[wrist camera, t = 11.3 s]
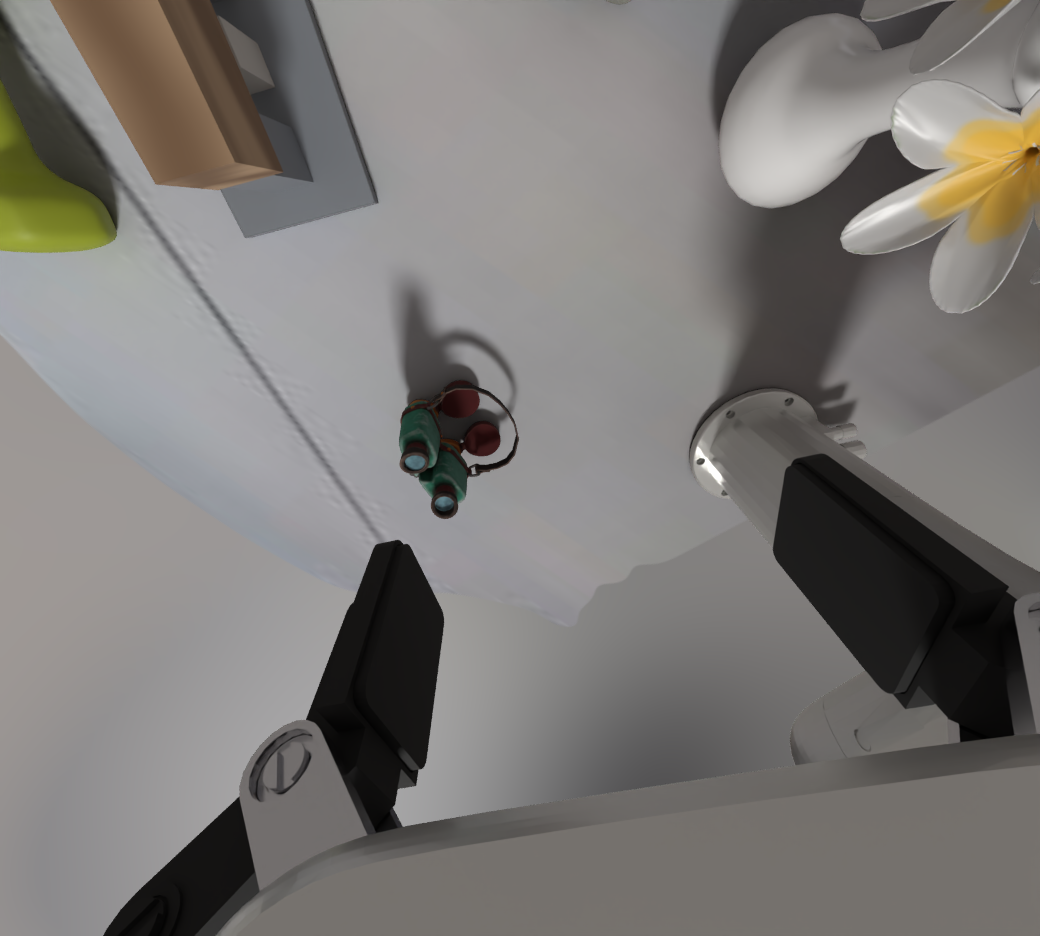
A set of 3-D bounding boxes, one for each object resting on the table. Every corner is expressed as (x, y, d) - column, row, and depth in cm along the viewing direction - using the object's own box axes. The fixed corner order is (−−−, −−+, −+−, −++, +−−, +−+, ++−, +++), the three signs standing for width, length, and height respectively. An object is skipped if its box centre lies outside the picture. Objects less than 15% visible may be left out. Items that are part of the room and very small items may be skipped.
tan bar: (131, -184, 16) (4, -322, 12) (283, 172, 23) (235, 162, 19) (43, -153, 17) (-110, -277, 13) (218, 190, 23) (155, 184, 19)
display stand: (256, -154, 21) (162, -298, 15) (378, 203, 30) (348, 199, 24) (85, -94, 22) (-68, -210, 16) (252, 237, 30) (192, 242, 24)
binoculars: (542, 489, 32) (431, 539, 33) (523, 433, 41) (436, 474, 42) (493, 392, 28) (366, 454, 28) (483, 354, 37) (387, 402, 38)
